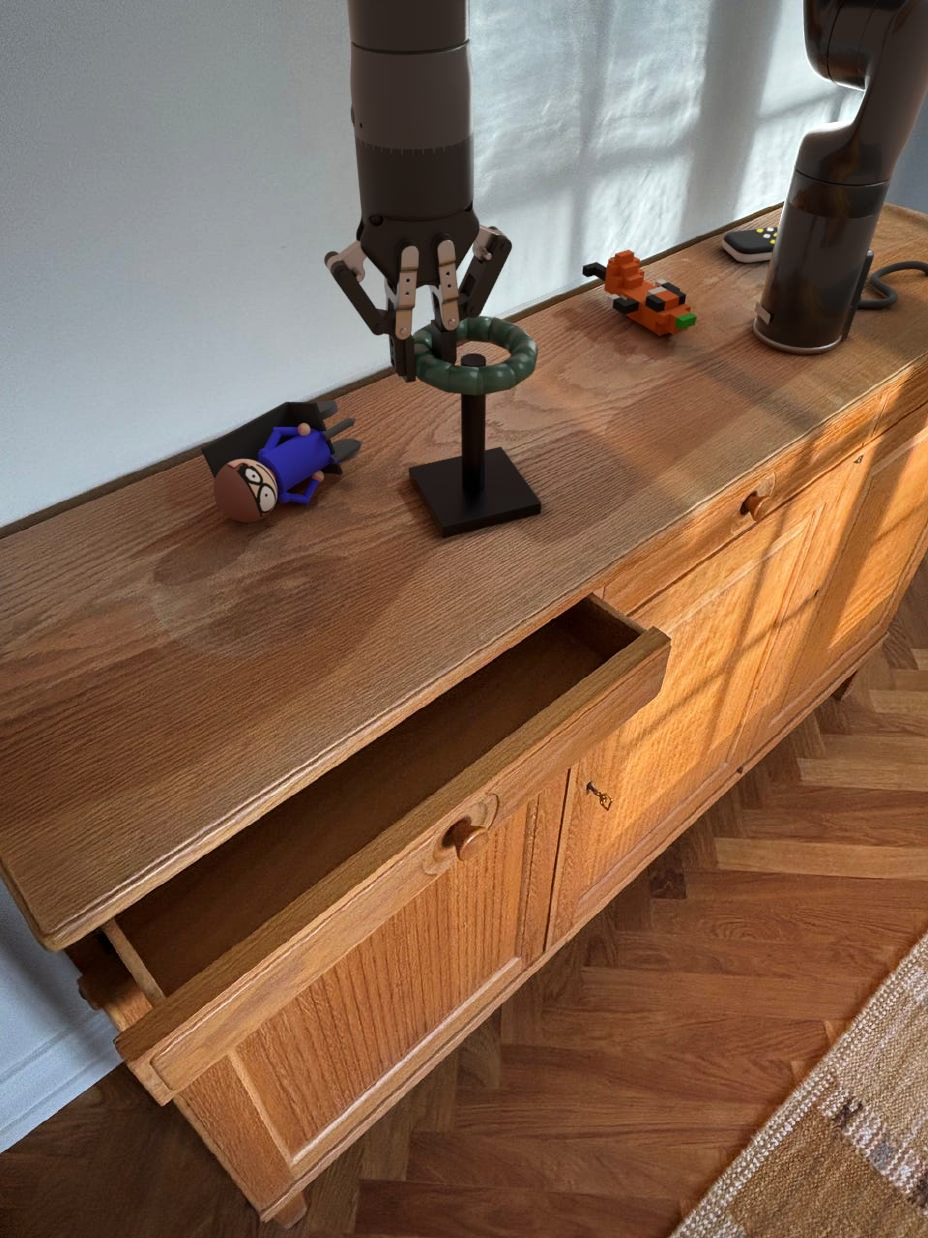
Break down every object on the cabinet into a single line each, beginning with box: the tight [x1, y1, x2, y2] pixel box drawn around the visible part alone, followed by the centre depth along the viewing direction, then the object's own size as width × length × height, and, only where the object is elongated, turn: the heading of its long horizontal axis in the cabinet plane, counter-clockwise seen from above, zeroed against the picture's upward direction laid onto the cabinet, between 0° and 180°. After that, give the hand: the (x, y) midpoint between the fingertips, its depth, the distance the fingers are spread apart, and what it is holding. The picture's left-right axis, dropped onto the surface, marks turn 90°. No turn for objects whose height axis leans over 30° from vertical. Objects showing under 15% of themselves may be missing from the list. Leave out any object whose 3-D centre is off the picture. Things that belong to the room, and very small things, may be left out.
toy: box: [581, 249, 697, 337], centre depth 98 cm, size 8×6×15 cm
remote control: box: [721, 225, 779, 264], centre depth 112 cm, size 6×13×2 cm, turn 104°
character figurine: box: [200, 399, 364, 523], centre depth 74 cm, size 8×7×15 cm
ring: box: [412, 315, 539, 396], centre depth 67 cm, size 10×10×2 cm
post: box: [408, 352, 542, 539], centre depth 72 cm, size 9×9×13 cm
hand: (424, 372), depth 66 cm, fingers closed on ring, 2 cm apart
